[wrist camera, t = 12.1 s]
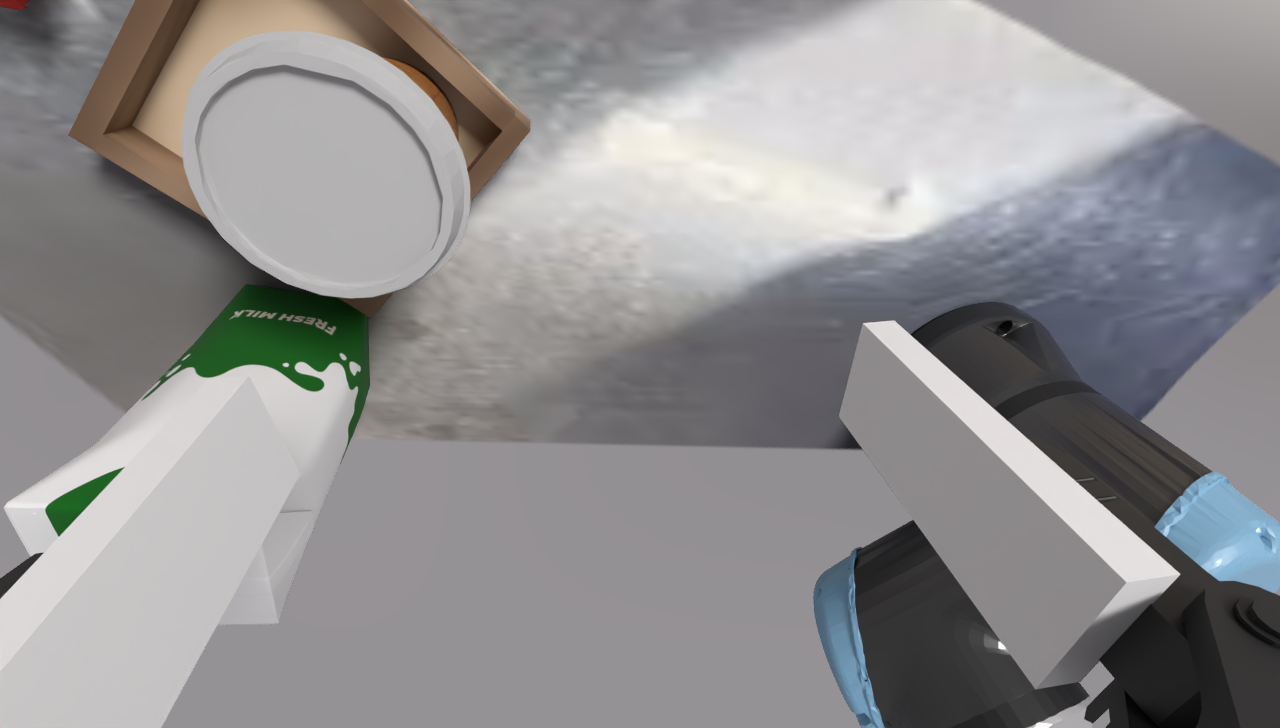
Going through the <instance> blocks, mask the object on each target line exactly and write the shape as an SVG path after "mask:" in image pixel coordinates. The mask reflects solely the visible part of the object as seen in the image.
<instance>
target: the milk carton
mask: <svg viewBox="0 0 1280 728" xmlns="http://www.w3.org/2000/svg"><path fill="white" fill-rule="evenodd" d="M242 376H249V377H250V379H251V380H252V382H253V384H254V386H255V388H256V390H257V392H258V394H259V396H260V398H261V399H262V401H263V403H264V405H265V407H266V409H267V411H268V413H269V415H270V416H271V418H272V420H273V422H274V424H275V426H276V428H277V430H278V432H279V434H280V435H281V437H282V439H283V441H284V443H285V445H286V447H287V449H288V451H289V452H290V454H291V456H292V458H293V460H294V462H295V464H296V466H297V468H298V470H299V471H300V473H301V474H300V475H299V477H298V479H297V481H296V483H295V484H294V486H293V488H292V490H291V492H290V494H289V495H288V497H287V499H286V501H285V503H284V505H283V506H282V508H281V510H280V512H279V514H278V515H277V517H276V519H275V521H274V523H273V525H272V526H271V528H270V530H269V532H268V534H267V536H266V537H265V539H264V541H263V543H262V545H261V546H260V548H259V550H258V552H257V554H256V556H255V557H254V559H253V561H252V563H251V565H250V566H249V568H248V570H247V572H246V574H245V576H244V577H243V579H242V581H241V583H240V585H239V587H238V588H237V590H236V592H235V594H234V596H233V597H232V599H231V601H230V603H229V605H228V607H227V608H226V610H225V612H224V614H223V616H222V618H221V619H220V621H219V623H218V625H245V624H246V625H249V624H250V625H251V624H277V623H278V622H279V619H280V616H281V613H282V610H283V607H284V605H285V602H286V600H287V597H288V594H289V592H290V589H291V586H292V584H293V581H294V578H295V576H296V573H297V570H298V568H299V565H300V562H301V560H302V557H303V554H304V552H305V549H306V546H307V544H308V541H309V539H310V536H311V534H312V532H313V530H314V526H315V523H316V521H317V518H318V516H319V514H320V512H321V509H322V507H323V505H324V503H325V500H326V498H327V496H328V493H329V491H330V488H331V486H332V484H333V481H334V478H335V476H336V474H337V471H338V469H339V467H340V464H341V462H342V459H343V457H344V454H345V452H346V450H347V447H348V445H349V442H350V440H351V438H352V435H353V433H354V430H355V428H356V425H357V423H358V421H359V418H360V415H361V413H362V410H363V407H364V404H365V400H366V397H367V393H368V390H369V386H370V374H369V343H368V316H367V315H365V314H364V313H362V312H360V311H359V310H357V309H355V308H354V307H352V306H350V305H349V304H347V303H345V302H344V301H342V300H340V299H339V298H337V297H333V296H324V295H320V294H312V293H305V292H297V291H290V290H282V289H275V288H267V287H260V286H252V285H245V286H244V287H243V288H242V289H241V291H240V292H239V293H238V294H237V295H236V296H235V298H234V299H233V300H232V301H231V302H230V303H229V304H228V305H227V307H226V308H225V309H224V310H223V311H222V312H221V313H220V315H219V316H218V317H217V318H216V319H215V320H214V321H213V323H212V324H211V325H210V326H209V327H208V328H207V330H206V331H205V332H204V333H203V334H202V335H201V337H200V338H199V339H198V340H197V341H196V342H195V343H194V344H193V345H192V346H191V347H190V348H189V349H188V350H187V351H186V352H185V353H184V355H183V356H182V357H181V358H180V359H179V360H178V361H177V362H176V363H175V364H174V365H173V366H172V367H171V368H170V369H169V370H168V371H167V372H166V373H165V374H164V375H163V376H162V377H161V378H160V379H159V380H158V381H157V382H156V383H155V384H154V385H153V386H152V387H151V388H150V389H149V390H148V391H147V392H146V393H145V394H144V395H143V396H142V397H141V398H140V399H139V400H138V402H137V403H136V404H135V405H134V406H133V407H132V408H131V409H130V410H129V411H128V412H127V413H126V414H125V415H124V416H123V417H122V418H121V419H120V420H119V421H118V422H117V423H116V424H115V425H114V426H113V427H112V428H111V429H110V430H109V431H108V432H107V433H106V434H105V435H104V436H103V437H102V438H101V439H100V440H99V441H98V442H97V443H96V444H95V445H94V446H92V447H91V448H89V449H88V450H86V451H85V452H84V453H82V454H80V455H79V456H77V457H76V458H75V459H73V460H71V461H70V462H68V463H67V464H65V465H64V466H62V467H61V468H59V469H58V470H56V471H55V472H53V473H51V474H50V475H48V476H47V477H45V478H44V479H42V480H41V481H39V482H38V483H36V484H35V485H33V486H31V487H30V488H28V489H27V490H25V491H24V492H22V493H21V494H19V495H18V496H16V497H15V498H13V499H11V500H10V501H9V502H7V503H6V506H4V510H5V511H6V514H7V515H8V517H9V519H10V521H11V523H12V524H13V526H14V528H15V530H16V532H17V533H18V535H19V537H20V539H21V541H22V542H23V544H24V546H25V548H26V549H27V551H28V553H29V554H30V557H31V556H33V555H34V554H36V553H44V552H45V551H46V550H47V549H48V548H49V547H50V546H51V545H52V544H53V543H54V542H55V541H56V540H57V538H58V537H59V536H60V535H61V534H62V533H63V532H64V531H65V530H66V529H67V528H68V527H69V526H70V525H71V524H72V523H73V522H74V520H75V519H76V518H77V517H78V516H79V515H80V514H81V513H82V512H83V511H84V510H85V509H86V508H87V507H88V506H89V505H90V504H91V503H92V501H93V500H94V499H95V498H96V497H97V496H98V495H99V494H100V493H101V492H102V491H103V490H104V489H105V488H106V487H107V486H108V485H109V483H110V482H111V481H112V480H113V479H114V478H115V477H116V476H117V475H118V474H119V473H120V472H121V471H122V470H123V469H124V468H125V467H126V466H127V464H128V463H129V462H130V461H131V460H132V459H133V458H134V457H135V456H136V455H137V454H138V453H139V452H140V451H141V450H142V449H143V448H144V446H145V445H146V444H147V443H148V442H149V441H150V440H151V439H152V438H153V437H154V436H155V435H156V434H157V433H158V432H159V431H160V430H161V429H162V427H163V426H164V425H165V424H166V423H167V422H168V421H169V420H170V419H171V418H172V417H173V416H174V415H175V414H176V413H177V412H178V411H179V409H180V408H181V407H182V406H183V405H184V404H185V403H186V402H187V401H188V400H189V399H190V398H191V397H192V396H193V395H194V394H195V393H196V392H197V390H198V389H199V388H200V387H201V386H202V385H203V384H204V383H205V382H206V381H207V380H208V379H218V378H230V377H242Z"/></svg>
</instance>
